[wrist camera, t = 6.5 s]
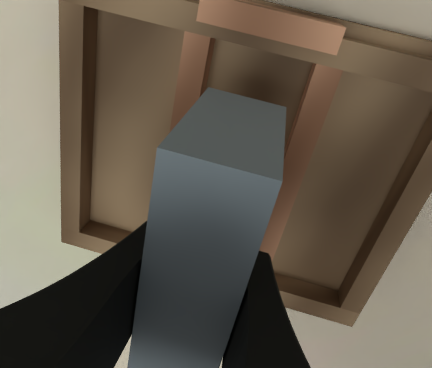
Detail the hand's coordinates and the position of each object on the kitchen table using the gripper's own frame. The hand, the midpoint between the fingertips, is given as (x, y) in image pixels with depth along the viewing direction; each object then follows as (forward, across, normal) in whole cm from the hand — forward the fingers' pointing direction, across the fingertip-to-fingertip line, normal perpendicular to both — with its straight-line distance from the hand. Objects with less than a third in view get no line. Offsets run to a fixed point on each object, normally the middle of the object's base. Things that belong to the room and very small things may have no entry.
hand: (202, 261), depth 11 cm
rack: (+8, 0, 0) cm, 8 cm away
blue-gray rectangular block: (+3, 0, 0) cm, 3 cm away
